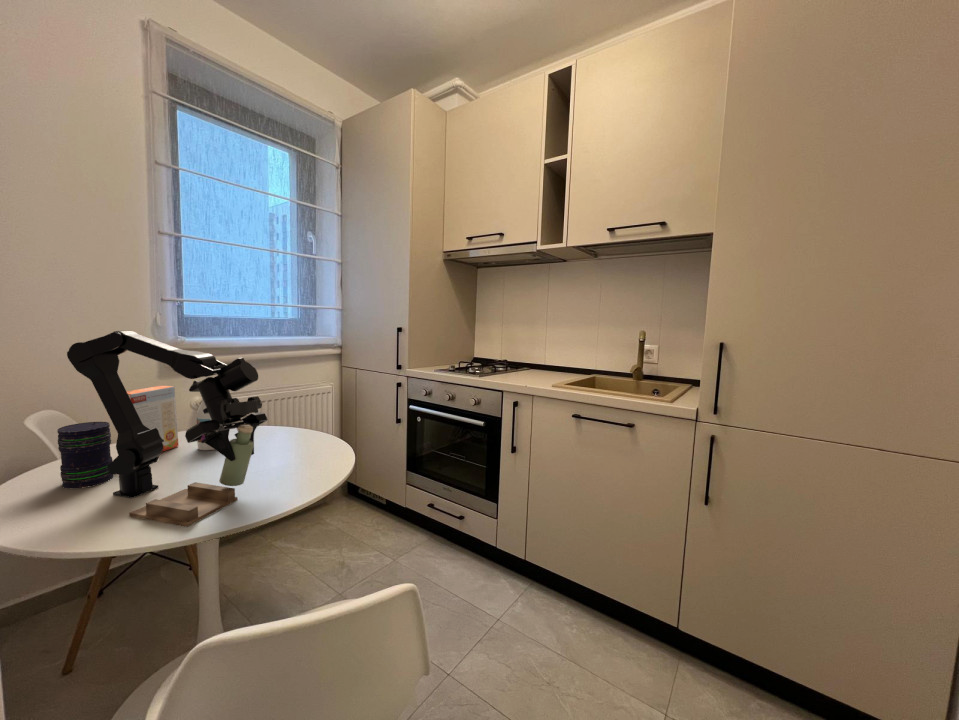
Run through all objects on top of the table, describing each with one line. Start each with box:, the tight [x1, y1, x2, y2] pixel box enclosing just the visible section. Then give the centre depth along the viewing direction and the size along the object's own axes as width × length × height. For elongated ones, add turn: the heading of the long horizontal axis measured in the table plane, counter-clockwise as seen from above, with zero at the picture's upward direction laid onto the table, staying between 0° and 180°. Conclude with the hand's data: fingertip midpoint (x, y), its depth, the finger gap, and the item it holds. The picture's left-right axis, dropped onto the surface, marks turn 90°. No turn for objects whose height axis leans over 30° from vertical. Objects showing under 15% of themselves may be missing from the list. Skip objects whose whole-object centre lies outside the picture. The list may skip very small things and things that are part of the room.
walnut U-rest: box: [129, 482, 238, 528], centre depth 91 cm, size 16×13×3 cm
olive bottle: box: [219, 425, 255, 487], centre depth 95 cm, size 5×5×14 cm
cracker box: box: [126, 385, 179, 452], centre depth 125 cm, size 14×6×21 cm, turn 169°
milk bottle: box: [196, 395, 216, 451], centre depth 131 cm, size 8×8×20 cm
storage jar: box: [57, 421, 114, 489], centre depth 103 cm, size 10×10×15 cm
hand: (243, 457), depth 95 cm, fingers closed on olive bottle, 5 cm apart
